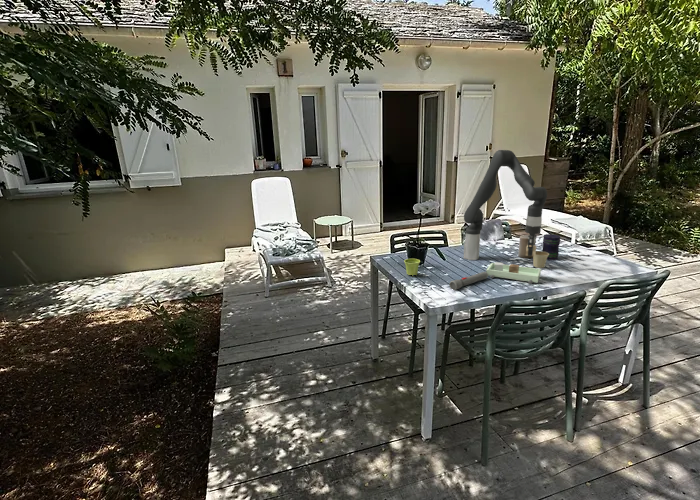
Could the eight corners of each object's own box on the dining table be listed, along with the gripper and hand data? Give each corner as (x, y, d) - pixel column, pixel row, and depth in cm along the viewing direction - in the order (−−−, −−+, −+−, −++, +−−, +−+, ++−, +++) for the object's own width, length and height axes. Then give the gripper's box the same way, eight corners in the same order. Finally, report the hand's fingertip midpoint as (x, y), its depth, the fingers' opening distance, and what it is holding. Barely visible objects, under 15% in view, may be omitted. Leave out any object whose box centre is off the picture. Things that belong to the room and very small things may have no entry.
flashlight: (489, 280, 218) (490, 271, 217) (456, 291, 203) (456, 282, 202) (482, 277, 222) (482, 269, 221) (448, 288, 207) (449, 280, 206)
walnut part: (508, 274, 220) (509, 266, 218) (510, 272, 223) (510, 264, 222) (517, 275, 217) (517, 267, 216) (518, 273, 221) (519, 265, 220)
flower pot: (549, 269, 231) (551, 255, 229) (532, 268, 233) (534, 255, 231) (545, 264, 240) (546, 251, 238) (529, 264, 242) (530, 250, 240)
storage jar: (544, 254, 259) (546, 233, 255) (560, 257, 253) (562, 235, 249) (538, 258, 253) (541, 236, 249) (554, 261, 246) (557, 238, 242)
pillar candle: (536, 258, 252) (538, 236, 249) (521, 258, 253) (523, 236, 249) (530, 254, 262) (532, 233, 258) (515, 254, 262) (517, 233, 258)
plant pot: (410, 278, 223) (410, 264, 221) (400, 273, 232) (400, 260, 229) (423, 275, 228) (423, 261, 225) (413, 271, 236) (413, 257, 233)
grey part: (494, 272, 223) (494, 264, 222) (494, 270, 227) (495, 262, 226) (502, 273, 222) (503, 265, 220) (502, 270, 226) (503, 262, 224)
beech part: (525, 255, 212) (526, 246, 211) (526, 253, 216) (527, 244, 215) (534, 256, 210) (535, 247, 209) (535, 254, 214) (536, 245, 212)
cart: (485, 277, 221) (485, 270, 220) (491, 269, 234) (492, 262, 233) (537, 285, 207) (537, 277, 206) (540, 275, 221) (541, 268, 220)
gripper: (527, 221, 216) (525, 250, 221) (524, 226, 204) (521, 257, 209) (542, 222, 212) (539, 252, 217) (539, 227, 201) (536, 258, 205)
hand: (530, 254), depth 213 cm, fingers closed on beech part, 4 cm apart
